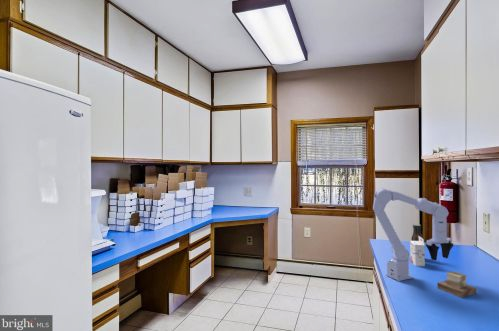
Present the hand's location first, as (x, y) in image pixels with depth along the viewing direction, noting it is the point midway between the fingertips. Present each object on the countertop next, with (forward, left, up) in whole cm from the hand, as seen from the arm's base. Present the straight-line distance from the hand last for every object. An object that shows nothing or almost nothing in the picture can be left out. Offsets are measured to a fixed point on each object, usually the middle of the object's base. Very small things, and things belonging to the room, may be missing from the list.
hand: (439, 258), depth 138 cm
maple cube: (-4, -11, -8) cm, 14 cm away
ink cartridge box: (+11, +21, -11) cm, 26 cm away
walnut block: (-4, -10, -11) cm, 16 cm away
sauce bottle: (+19, +27, -11) cm, 34 cm away
